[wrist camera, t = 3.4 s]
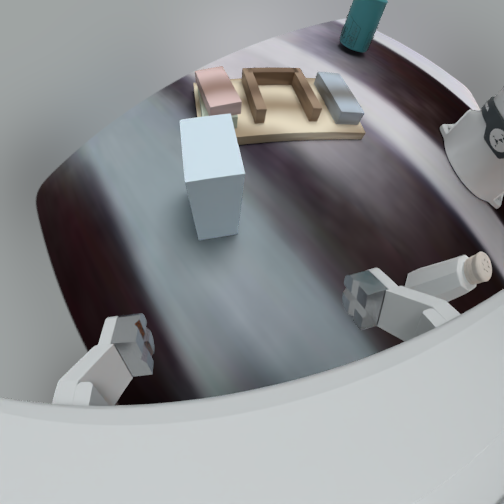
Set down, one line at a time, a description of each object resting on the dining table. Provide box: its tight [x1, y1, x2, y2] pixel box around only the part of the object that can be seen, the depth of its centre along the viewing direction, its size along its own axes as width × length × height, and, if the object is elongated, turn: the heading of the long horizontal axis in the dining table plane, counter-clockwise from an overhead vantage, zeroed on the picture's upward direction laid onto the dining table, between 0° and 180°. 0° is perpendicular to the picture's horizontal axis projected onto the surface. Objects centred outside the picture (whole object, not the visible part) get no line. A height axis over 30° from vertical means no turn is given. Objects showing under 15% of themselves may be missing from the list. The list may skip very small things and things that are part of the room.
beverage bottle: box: [340, 0, 388, 52], centre depth 34 cm, size 6×7×20 cm
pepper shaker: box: [404, 252, 492, 302], centre depth 23 cm, size 5×5×11 cm
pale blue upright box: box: [180, 113, 245, 240], centre depth 24 cm, size 6×4×11 cm, turn 12°
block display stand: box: [194, 66, 365, 145], centre depth 32 cm, size 12×22×6 cm, turn 102°
